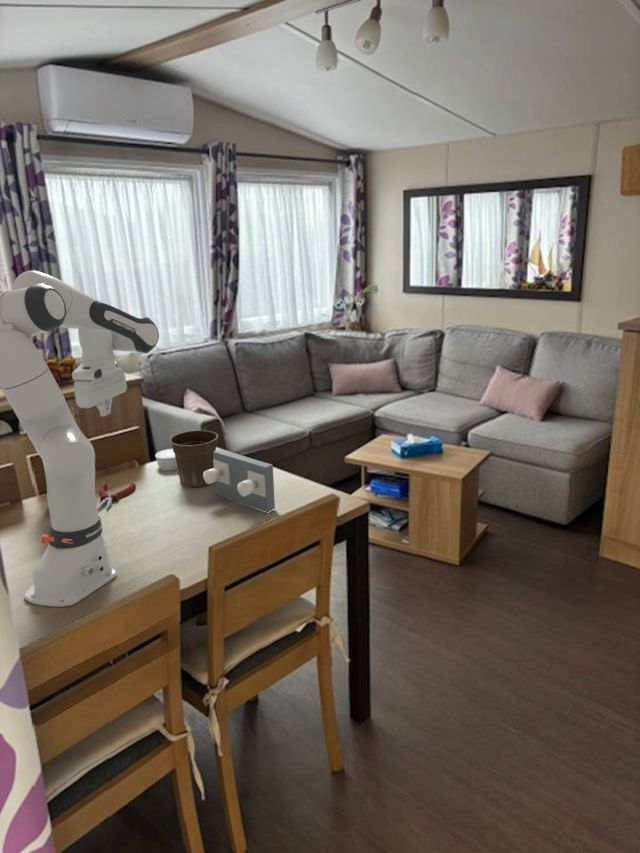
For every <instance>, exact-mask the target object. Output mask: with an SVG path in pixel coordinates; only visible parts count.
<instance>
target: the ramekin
mask: <svg viewBox="0 0 640 853" xmlns="http://www.w3.org/2000/svg"><path fill="white" fill-rule="evenodd" d="M154 456H155V457H154V458H155V459H156V463H157V465H158V467H159V469H160V470H162V471H176V470H177V471H178V467H177V462H176V458H175V453H174V452H173V448H168V449H167V448H166V449H163V450H160V451H158V452H156V453H155V455H154Z"/></svg>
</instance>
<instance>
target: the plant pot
mask: <svg viewBox="0 0 640 853" xmlns="http://www.w3.org/2000/svg"><path fill="white" fill-rule="evenodd" d="M218 439H219V434H218V433H217V432H214V431H210V430H202V429H201V430H200V429H198V430H189V431H183V432H179V433H176V434H173V435H172V436H171V437H170V438H169V443H170V444H171V447H172V448H171V449H173V452H174V453H175V458H176V462H177V467H178V469H177V471H178V472H177V473H178V476H179V482H180V484H181V485H182V486H184V487H187V488H194V487H197V488H201V487H202V488H203V487H206V486H209V485H210V484H207V483H206V482H205V481H204V478H203V473H204V471H206V470H209V469H212V468H214V463H213V460H214V456H213V452H214V451H217V447H218V446H217V445H218V444H217V443H218Z"/></svg>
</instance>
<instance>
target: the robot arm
mask: <svg viewBox="0 0 640 853" xmlns="http://www.w3.org/2000/svg"><path fill="white" fill-rule="evenodd" d="M57 328H63V329H77V331H78V332H77V334H78V341H79V346H80V347H81V363H80V364H79V365H78V366H77V368H75V370H73V371H72V373H71V377H72V380H74V383H73V391H74V397H75V403H76V405H77V406H78V407H79V408H80V409H90V408H92V407H94V406H96V408H97V409H98V411H99V415H100V417H106V416H108V415H110V414H111V413H112V409H111V408H112V404H113V398H115V397H117V396H119V395H121V394H124V393H126V392H127V389H128V384H127V378H126V375H125V372H124V369H123V368H122V365H121V364H120V363H119V362H118V361H116V356H115V351H117V352H137V353H144V354H148V353H150V352H151V351H152V350H153V349H154V348H155V347H156V346H157V344H158V342H159V339H160V332H159V329H158V327H157V324H156V323H155V322H154V321H153V320H152V319H151V318H150V317H142V316H141V317H136V316H134V315H132V314H129V313H128V312H125V311H123V310H121V309H119V308H117V307H114V306H112V305H110V304H107V303H106V302H103V301H102V300H99V299H97V298H95V297H92V296H90V295H89V294H87V293H84V292H83V291H80V290H79V289H77V288H75V287H73V286H71V285H70V284H68V283H66V282H64V281H63V280H60V279H59V278H57V277H54V276H52V275H50V274H47V273H44V272H41V271H37V270H27V271H24V272H22V273H20V274H19V275H18V276H17V277H16V278H15V280H14V281H13V284H12V290H6V291H3V292H0V390H1V391H2V393H3V395H4V396H5V398H6V399H7V401H8V403H9V405H10V407H11V408H12V410H13V412H14V414H15V415H16V417H17V419H18V420H19V422H20V424H21V426H22V428H23V430H24V431H25V433H26V434H27V436H28V438H29V440H30V442H31V443H32V445H33V447H34V449H35V450H36V452H37V454H38V455H39V457H40V458H41V460H42V463H44V464H43V467H44V466H45V470H44V472H45V471H46V477H45V481H46V480H47V483H46V492H47V493H46V494H47V495H46V499H47V506H48V512H49V520H50V526H49V532H48V533H49V534H41V536H40V540H39V541H40V543H42V544H47V545H48V546H47V548H46V550H44V553H43V554H42V557H41V558H40V560H39V562H38V564H37V565H36V567H35V569H34V571H33V576H32V577H33V584H32V585H31V587H29V589H28V590H27V591H26V592H25V593H24V594H23V596H24V599H25V601H26V602H28V601H29V602H28V603H31V604H33V605H38V606H45V607H69V606H73V605H75V604H77V603H79V602H80V601H81V600H83V599H85V598H86V597H88V596H90V595H91V594H92V593H94V592H95V591H96V590H98V589H100V588H101V587H103V586H104V585H105V584H107V583H108V582H110V581H112V580H113V579H114V578H116V577H117V571H116V570H115V569H114V567H113V564H112V561H111V557H110V553H109V548H108V545H107V544H106V541H105V539H104V537H103V534H102V533H103V523H102V521H101V520H102V519H101V517H100V516H99V510H97V509H98V503H97V497H96V488H95V487H96V484H95V482H96V480H95V479H96V453H95V449H94V447H93V444H92V443H91V441H90V440H89V439H88V438H87V437H86V436H85V434H84V433H83V432H82V430H81V429H80V428H79V426H78V424H77V422H76V421H75V419H74V416H73V414H72V412H71V410H70V407H69V406H68V403H67V401H66V399H65V395H64V394H63V392H62V390H61V388H60V386H59V384H58V383H57V380H56V379H55V377H54V375H53V374H52V371H51V369H50V368H49V366H48V364H47V362H46V360H45V359H44V357H43V355H42V354H41V352H40V351H39V350H38V348H37V346H36V345H35V344H34V341H33V337H35V336H39V335H41V334H43V333H46V332H52V331H54V330H55V329H57Z"/></svg>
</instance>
